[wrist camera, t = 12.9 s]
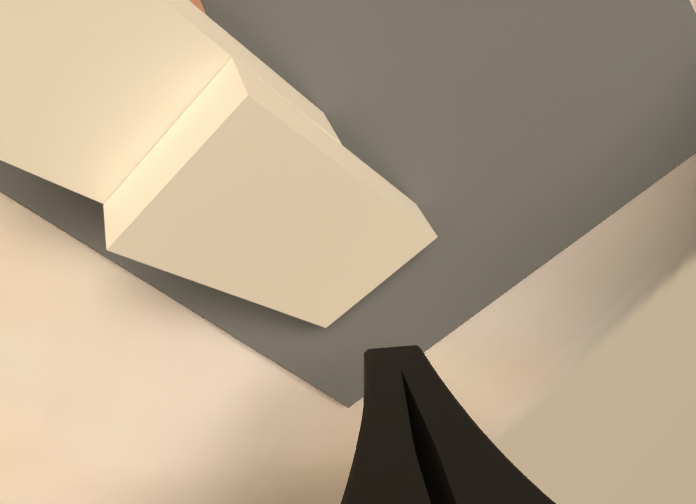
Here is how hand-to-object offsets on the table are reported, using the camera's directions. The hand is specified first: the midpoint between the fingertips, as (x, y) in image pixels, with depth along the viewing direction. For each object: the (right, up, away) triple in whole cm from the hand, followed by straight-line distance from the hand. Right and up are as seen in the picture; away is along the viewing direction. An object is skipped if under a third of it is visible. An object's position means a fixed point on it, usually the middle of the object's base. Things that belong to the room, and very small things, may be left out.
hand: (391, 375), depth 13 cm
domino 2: (0, +3, +4) cm, 5 cm away
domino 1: (-3, +5, +2) cm, 7 cm away
